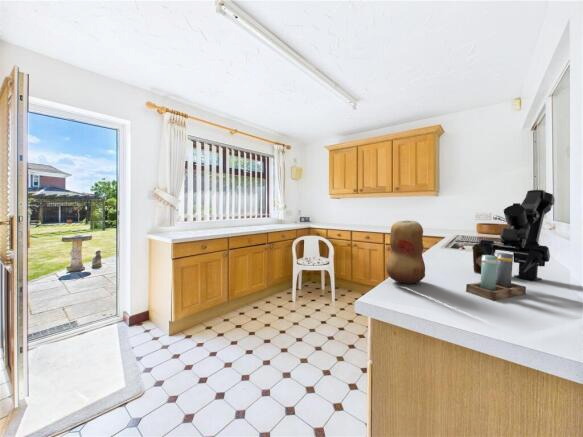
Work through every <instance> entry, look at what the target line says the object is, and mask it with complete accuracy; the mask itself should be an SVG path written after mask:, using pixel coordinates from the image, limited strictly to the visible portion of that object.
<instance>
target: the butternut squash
mask: <svg viewBox="0 0 583 437" xmlns="http://www.w3.org/2000/svg"><path fill="white" fill-rule="evenodd" d="M423 234H424V229H423V226H422V225H421V223H419V222H418V221H416V220H410V219H409V220H407V219H405V220H398V221H396V222H394V223H393V224H392V225H391V227H390V236H389V244H390V250H391V251H390V255H389V256H388V259H387V261H386V265H385V267H386V270H385V271H386V273H387V275H388V276H389V277H390V279H392V280H393V281H394V282H396V283H398V284H402V285H412V284H415V283H419V282H421V281H422V280H423V279H425V277H426V265H425V262H424V261H425V260H424V257H423V252H424V248H425V247H424V244H423V237H424V236H423Z"/></svg>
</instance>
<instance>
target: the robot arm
mask: <svg viewBox="0 0 583 437" xmlns="http://www.w3.org/2000/svg"><path fill="white" fill-rule="evenodd" d="M555 201H556V200H555V196H554V195H553V193H550V192H547V191H545V190H544V189H531V190H527V192H526V194H525V197H524V199H523V200H522V202H521V203H520V202H516V203H515V202H514V203H512V205H509V206H507V207H506V208H504V209H503V213H504V217H505V221H506V224H507V226H508V225H509V226H508V228H501V231H500V235H499V238H501V240H500V242H501V244H496V243H495V241H494V240H493V239H492V240H490V239H480V240H479V242H478V244H479V246H480V249H481V251H482V252H483V253H485V255H492V256H496V255H495V254H496V251H503V252H509V253H512V255H513V263H514V264H516V263H517V264H518V274H517V275H513V277H514V278H519V279H523V280H527V281H531V282H534V281H535V282H536V281H540V280H542V277H538V274H539V273H538V272H539V271H538V270H539V267H545V266H546V263H547V262H550V258H551V253H550V249H549V247H548V246H547V245H540V244H539V241H540V235H541V231H542V226H543V222H544V218H545V215H546V214H547V213H549V212H550V211H551V209H552V208H553V206H554V205H555Z"/></svg>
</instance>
